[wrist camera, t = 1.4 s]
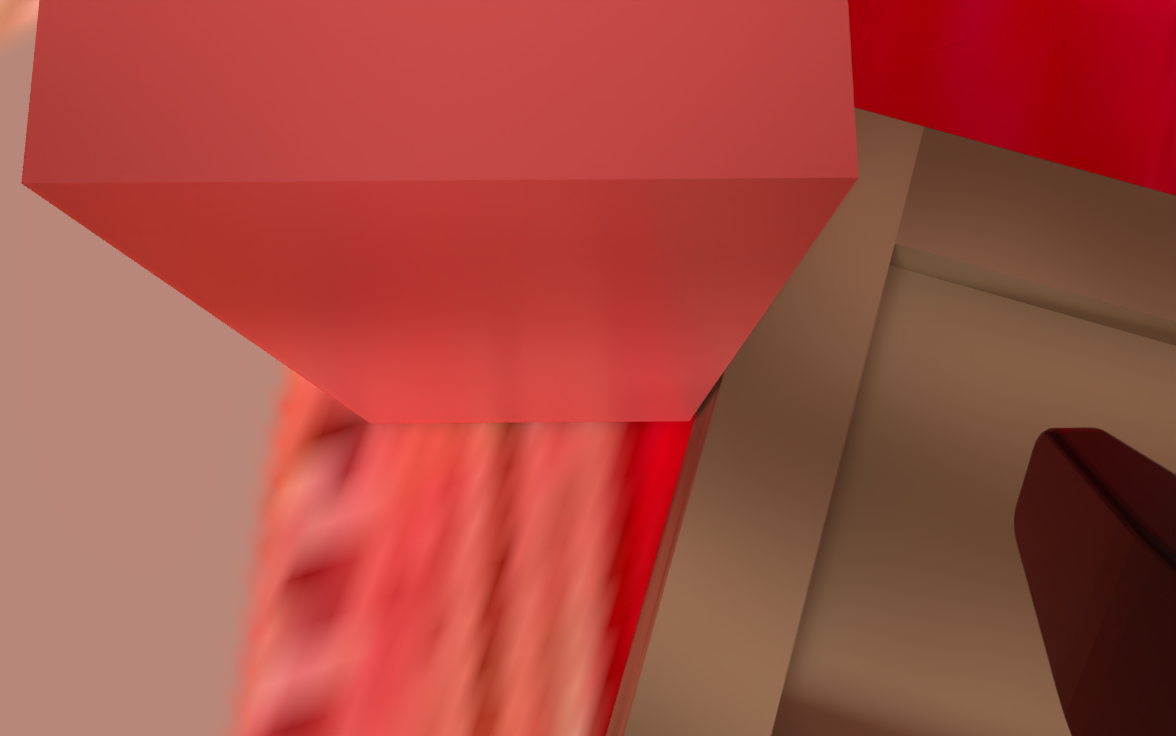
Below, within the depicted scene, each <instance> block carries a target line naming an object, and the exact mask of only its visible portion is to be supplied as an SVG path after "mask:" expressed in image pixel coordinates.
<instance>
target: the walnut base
mask: <svg viewBox="0 0 1176 736" xmlns="http://www.w3.org/2000/svg"><path fill="white" fill-rule="evenodd" d="M854 110H855V126H856V143H857V160H858V176H859V178H858V179H857V181H856V182H855V183H854V185H853V186H852V188H851V189H850V191H849V192H848V194H847V195H846V196H845V198H844V199H843V201H842V202H841V204H840V205H839V207H838V208H837V209H836V211H835V212H834V214H833V215H832V217H831V218H830V219H829V221H828V222H827V224H826V225H825V227H824V228H823V230H822V231H821V232H820V234H819V235H818V237H817V238H816V240H815V241H814V242H813V244H812V245H811V247H810V248H809V250H808V251H807V253H806V254H805V255H804V257H803V258H802V260H801V261H800V263H799V264H798V266H797V267H796V268H795V270H794V271H793V273H792V274H791V276H790V277H789V278H788V280H787V281H786V283H785V284H784V286H783V287H782V289H781V290H780V291H779V293H778V294H777V296H776V297H775V299H774V300H773V302H772V303H771V304H770V306H769V307H768V309H767V310H766V312H765V313H764V314H763V316H762V317H761V319H760V320H759V322H758V323H757V325H756V326H755V327H754V329H753V330H752V332H751V333H750V335H749V336H748V337H747V339H746V340H745V342H744V343H743V345H742V346H741V348H740V349H739V350H738V352H737V353H736V355H735V356H734V358H733V359H732V361H731V362H730V363H729V365H728V366H727V368H726V369H725V371H724V372H723V373H722V375H721V376H720V378H719V379H718V381H717V382H716V384H715V385H714V386H713V388H712V389H711V391H710V392H709V394H708V395H707V397H706V398H705V399H704V401H703V402H702V404H701V405H700V407H699V408H698V409H697V412H696V416H695V420H694V423H693V427H692V430H691V434H690V437H689V441H688V445H687V448H686V452H685V455H684V459H683V462H682V466H681V470H680V473H679V477H678V480H677V484H676V487H675V491H674V495H673V498H672V502H671V505H670V509H669V512H668V516H667V520H666V523H665V527H664V530H663V534H662V537H661V541H660V545H659V548H658V552H657V555H656V559H655V562H654V566H653V570H652V573H651V577H650V580H649V584H648V587H647V591H646V595H645V598H644V602H643V605H642V609H641V612H640V616H639V620H638V623H637V627H636V630H635V634H634V637H633V641H632V645H631V648H630V652H629V655H628V659H627V662H626V666H625V670H624V673H623V677H622V680H621V684H620V687H619V691H618V695H617V698H616V702H615V705H614V709H613V712H612V716H611V720H610V723H609V727H608V730H607V734H606V736H1072V735H1071V733H1070V730H1069V727H1068V725H1067V722H1066V719H1065V717H1064V713H1063V710H1062V707H1061V703H1060V700H1059V697H1058V693H1057V690H1056V687H1055V683H1054V679H1053V676H1052V672H1051V668H1050V665H1049V661H1048V657H1047V654H1046V650H1045V646H1044V642H1043V639H1042V635H1041V631H1040V628H1039V624H1038V620H1037V617H1036V613H1035V609H1034V606H1033V602H1032V598H1031V595H1030V591H1029V587H1028V583H1027V580H1026V576H1025V572H1024V569H1023V565H1022V561H1021V558H1020V554H1019V550H1018V547H1017V543H1016V538H1015V532H1014V514H1015V508H1016V504H1017V501H1018V497H1019V494H1020V491H1021V487H1022V484H1023V481H1024V477H1025V474H1026V471H1027V467H1028V464H1029V461H1030V457H1031V454H1032V451H1033V447H1034V445H1035V442H1036V440H1037V438H1038V437H1039V435H1040V434H1041V433H1042V432H1044V431H1045V430H1047V429H1049V428H1075V427H1093V428H1098V429H1102V430H1104V431H1106V432H1108V433H1109V434H1111V435H1113V436H1114V437H1116V438H1118V439H1119V440H1121V441H1122V442H1124V443H1126V444H1127V445H1129V446H1131V447H1132V448H1134V449H1135V450H1137V451H1139V452H1140V453H1142V454H1144V455H1145V456H1147V457H1149V458H1150V459H1152V460H1153V461H1155V462H1157V463H1158V464H1160V465H1162V466H1163V467H1165V468H1166V469H1168V470H1170V471H1171V472H1173V473H1175V474H1176V196H1175V195H1171V194H1168V193H1164V192H1160V191H1157V190H1153V189H1150V188H1146V187H1142V186H1139V185H1135V184H1131V183H1128V182H1124V181H1120V180H1117V179H1113V178H1110V177H1106V176H1102V175H1099V174H1095V173H1091V172H1088V171H1084V170H1080V169H1077V168H1073V167H1070V166H1066V165H1062V164H1059V163H1055V162H1051V161H1048V160H1044V159H1040V158H1037V157H1033V156H1029V155H1026V154H1022V153H1019V152H1015V151H1011V150H1008V149H1004V148H1000V147H997V146H993V145H989V144H986V143H982V142H979V141H975V140H971V139H968V138H964V137H960V136H957V135H953V134H949V133H946V132H942V131H939V130H935V129H931V128H928V127H924V126H920V125H917V124H913V123H909V122H906V121H902V120H898V119H895V118H891V117H888V116H884V115H880V114H877V113H873V112H869V111H866V110H862V109H858V108H855V107H854Z"/></svg>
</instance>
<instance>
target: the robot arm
mask: <svg viewBox="0 0 1176 736" xmlns="http://www.w3.org/2000/svg"><path fill="white" fill-rule="evenodd" d="M1014 532H1015V538H1016V543H1017V547H1018V550H1019V554H1020V558H1021V561H1022V565H1023V569H1024V572H1025V576H1026V580H1027V583H1028V587H1029V591H1030V595H1031V598H1032V602H1033V606H1034V609H1035V613H1036V617H1037V620H1038V624H1039V628H1040V631H1041V635H1042V639H1043V642H1044V646H1045V650H1046V654H1047V657H1048V661H1049V665H1050V668H1051V672H1052V676H1053V679H1054V683H1055V687H1056V690H1057V693H1058V697H1059V700H1060V703H1061V707H1062V710H1063V713H1064V717H1065V719H1066V722H1067V725H1068V727H1069V730H1070V733H1071V735H1072V736H1176V474H1175V473H1173V472H1171V471H1170V470H1168V469H1166V468H1165V467H1163V466H1162V465H1160V464H1158V463H1157V462H1155V461H1153V460H1152V459H1150V458H1149V457H1147V456H1145V455H1144V454H1142V453H1140V452H1139V451H1137V450H1135V449H1134V448H1132V447H1131V446H1129V445H1127V444H1126V443H1124V442H1122V441H1121V440H1119V439H1118V438H1116V437H1114V436H1113V435H1111V434H1109V433H1108V432H1106V431H1104V430H1102V429H1098V428H1093V427H1075V428H1049V429H1047V430H1045V431H1044V432H1042V433H1041V434H1040V435H1039V437H1038V438H1037V440H1036V442H1035V445H1034V447H1033V451H1032V454H1031V457H1030V461H1029V464H1028V467H1027V471H1026V474H1025V477H1024V481H1023V484H1022V487H1021V491H1020V494H1019V497H1018V501H1017V504H1016V508H1015V514H1014Z"/></svg>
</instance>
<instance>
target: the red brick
mask: <svg viewBox="0 0 1176 736" xmlns="http://www.w3.org/2000/svg"><path fill="white" fill-rule="evenodd" d="M858 178H859V176H858V160H857V143H856V126H855V110H854V93H853V76H852V60H851V43H850V26H849V10H848V0H40V1H39V11H38V22H37V32H36V42H35V52H34V62H33V72H32V82H31V93H30V103H29V113H28V123H27V133H26V144H25V154H24V164H23V175H22V184H23V185H25V186H26V187H28V188H29V189H31V190H32V191H34V192H35V193H37V194H38V195H39V196H41V197H42V198H44V199H45V200H47V201H48V202H49V203H51V204H52V205H54V206H55V207H57V208H58V209H60V210H61V211H63V212H64V213H65V214H67V215H68V216H70V217H71V218H73V219H74V220H76V221H77V222H78V223H80V224H81V225H83V226H84V227H86V228H87V229H89V230H90V231H91V232H93V233H95V234H96V235H97V236H99V237H100V238H102V239H103V240H105V241H106V242H107V243H109V244H110V245H112V246H113V247H115V248H116V249H118V250H119V251H121V252H122V253H123V254H125V255H126V256H128V257H129V258H131V259H132V260H134V261H135V262H137V263H138V264H139V265H141V266H142V267H144V268H145V269H147V270H148V271H150V272H151V273H153V274H154V275H155V276H157V277H159V278H160V279H161V280H163V281H164V282H166V283H167V284H168V285H170V286H172V287H173V288H174V289H176V290H177V291H179V292H180V293H182V294H183V295H185V296H186V297H188V298H189V299H190V300H192V301H193V302H195V303H196V304H197V305H199V306H200V307H202V308H203V309H205V310H206V311H208V312H209V313H211V314H212V315H214V316H215V317H216V318H218V319H219V320H221V321H222V322H224V323H225V324H227V325H228V326H229V327H231V328H233V329H234V330H236V331H237V332H238V333H240V334H241V335H243V336H244V337H246V338H247V339H248V340H250V341H251V342H253V343H254V344H256V345H257V346H259V347H260V348H261V349H263V350H264V351H266V352H267V353H269V354H270V355H272V356H273V357H274V358H276V359H277V360H279V361H280V362H282V363H283V364H285V365H286V366H288V367H289V368H290V369H292V370H293V371H295V372H296V373H298V374H299V375H301V376H302V377H304V378H305V379H306V380H308V381H309V382H311V383H312V384H314V385H315V386H317V387H318V388H319V389H321V390H322V391H324V392H325V393H327V394H328V395H330V396H331V397H333V398H334V399H335V400H337V401H338V402H340V403H341V404H343V405H344V406H346V407H347V408H349V409H350V410H351V411H353V412H354V413H356V414H357V415H359V416H360V417H362V418H363V419H365V420H366V421H367V422H369V423H370V424H383V423H510V422H637V421H690V420H691V418H692V417H693V415H694V414H695V412H696V411H697V409H698V408H699V407H700V405H701V404H702V402H703V401H704V399H705V398H706V397H707V395H708V394H709V392H710V391H711V389H712V388H713V386H714V385H715V384H716V382H717V381H718V379H719V378H720V376H721V375H722V373H723V372H724V371H725V369H726V368H727V366H728V365H729V363H730V362H731V361H732V359H733V358H734V356H735V355H736V353H737V352H738V350H739V349H740V348H741V346H742V345H743V343H744V342H745V340H746V339H747V337H748V336H749V335H750V333H751V332H752V330H753V329H754V327H755V326H756V325H757V323H758V322H759V320H760V319H761V317H762V316H763V314H764V313H765V312H766V310H767V309H768V307H769V306H770V304H771V303H772V302H773V300H774V299H775V297H776V296H777V294H778V293H779V291H780V290H781V289H782V287H783V286H784V284H785V283H786V281H787V280H788V278H789V277H790V276H791V274H792V273H793V271H794V270H795V268H796V267H797V266H798V264H799V263H800V261H801V260H802V258H803V257H804V255H805V254H806V253H807V251H808V250H809V248H810V247H811V245H812V244H813V242H814V241H815V240H816V238H817V237H818V235H819V234H820V232H821V231H822V230H823V228H824V227H825V225H826V224H827V222H828V221H829V219H830V218H831V217H832V215H833V214H834V212H835V211H836V209H837V208H838V207H839V205H840V204H841V202H842V201H843V199H844V198H845V196H846V195H847V194H848V192H849V191H850V189H851V188H852V186H853V185H854V183H855V182H856V181H857V179H858Z"/></svg>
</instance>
